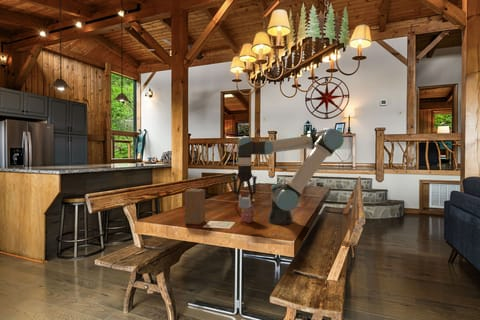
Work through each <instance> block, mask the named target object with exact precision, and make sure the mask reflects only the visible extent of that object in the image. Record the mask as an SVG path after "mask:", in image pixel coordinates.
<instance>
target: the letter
mask: <svg viewBox="0 0 480 320" xmlns="http://www.w3.org/2000/svg"><path fill="white" fill-rule="evenodd" d="M235 223H236V222H234V221H219V220H209V221H208V222H206V223H205V225H203V226H202V228H212V229H223V230H224V229H227V230H230V229H231V228H232V227H233V225H235Z"/></svg>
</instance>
